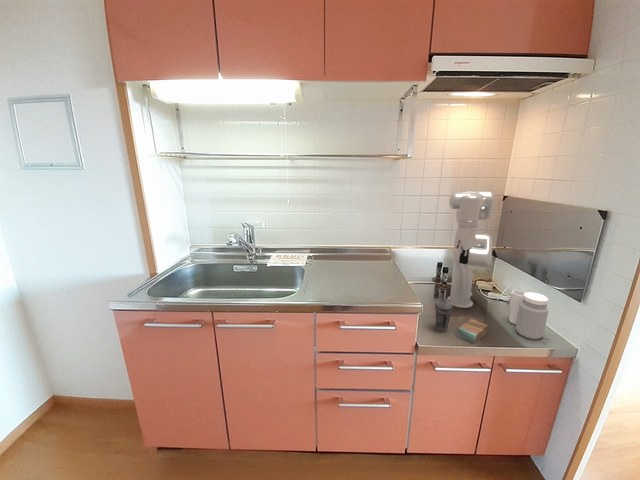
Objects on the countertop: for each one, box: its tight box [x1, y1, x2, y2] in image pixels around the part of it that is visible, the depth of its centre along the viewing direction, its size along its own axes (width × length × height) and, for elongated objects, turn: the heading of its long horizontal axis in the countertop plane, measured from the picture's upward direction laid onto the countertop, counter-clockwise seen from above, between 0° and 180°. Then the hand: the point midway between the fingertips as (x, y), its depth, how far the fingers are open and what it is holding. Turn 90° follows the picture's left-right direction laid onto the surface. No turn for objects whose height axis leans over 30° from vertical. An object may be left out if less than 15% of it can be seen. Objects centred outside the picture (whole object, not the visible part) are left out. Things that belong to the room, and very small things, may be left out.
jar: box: [515, 291, 549, 340], centre depth 117 cm, size 10×10×18 cm
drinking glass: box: [508, 289, 527, 325], centre depth 127 cm, size 7×7×15 cm
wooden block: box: [457, 318, 489, 344], centre depth 120 cm, size 4×7×12 cm
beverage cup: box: [434, 289, 454, 333], centre depth 123 cm, size 7×7×20 cm
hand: (463, 263), depth 124 cm, fingers closed
